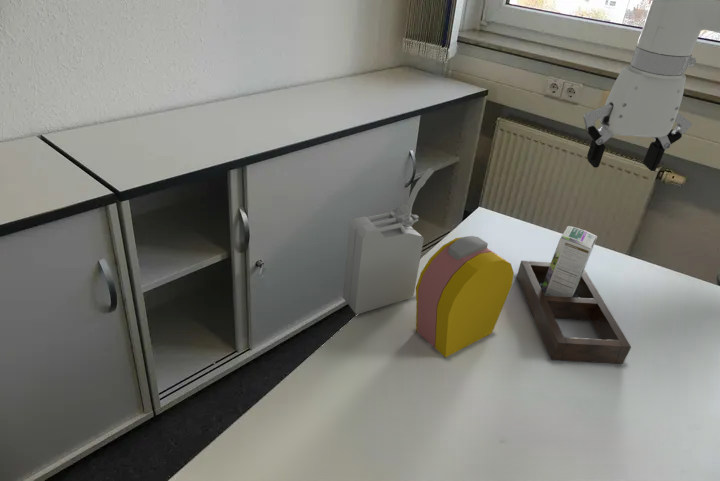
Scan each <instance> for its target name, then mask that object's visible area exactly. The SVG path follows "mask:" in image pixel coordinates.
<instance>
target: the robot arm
mask: <svg viewBox="0 0 720 481" xmlns="http://www.w3.org/2000/svg"><path fill="white" fill-rule="evenodd" d="M701 31H709V32H714V33H718V34H720V0H651V2H650V5H649V8H648V11H647V15H646V17H645V21H644V23H643V26H642V29H641V32H640V35H639V37H638V41H637V44H636V46H635V49H634V52H633V55H632V58H631V60H630V64H629V65H624V66H623V67H622V69H621V70H620V72H619V74H618V76H617V78H616V80H615V81H614V83H613V85H612V87H611V90H610V92H609V94H608V96H607V99H606V101H605V104H604V105H603V106H601V107H598V108H595V109H592V110H590V111H587V112H585V113H584V114H583V116H582V117H583V122H584V125H585V126H584V127H585V131H586V132H587V134H588V135H589V137H590V138H591V139H592V140H591V143H590V146H589V148H588V152H587V153H586V154H587V155H586V159H587V162H588V163H589V164H590V165H591V166H592V167H593V168H595V169H596V168H599V167H600V165H601V161H602V159H603V156H604V153H605V150H606V145H605V144H604V143H605V142H607V141H608V140H609V139H610V138H612V137H613V136H614V135H615V136H622V137H623V136H624V137H639V138H653V139H654V141H651V142H650V144H649V146H648V149H647V151H646V154H645V156H644V158H643V161H642V164H643V165H644V166H645V167H646V168H647V169H648V170H649V171H650V172H656V170H657V168H658V166H659V164H660V163H661V161H662V159H663V155H664V154H665V151H666V150H668V149H670V148H671V147H672V146H671V145H673V144H674V143H675V142H677V141H679V140H680V139H681V138H682V137H683V134H685V133H686V132H687V131H688V130H689V129H690V128H691V127H692V126H693V122H691V121H690V120H689V119H687V118H686V117H685V116H683V115H682V114H680V113H679V110H680V107H681V104H682V100H683V96H684V91H685V87H686V80H687V76H686V74H685V73H686V71H687V68H689V67H694V66H695V65H696V63H697V57H695V56H693V55H692V54H693V51H694V49H695V46H696V43H697V41H698V39H699V37H700V35H701ZM597 120H599V123H600V124H601V125H600V126H598V127H597V128H596V122H597ZM675 123H676V126H674V124H675ZM673 126H674V128H673Z"/></svg>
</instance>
